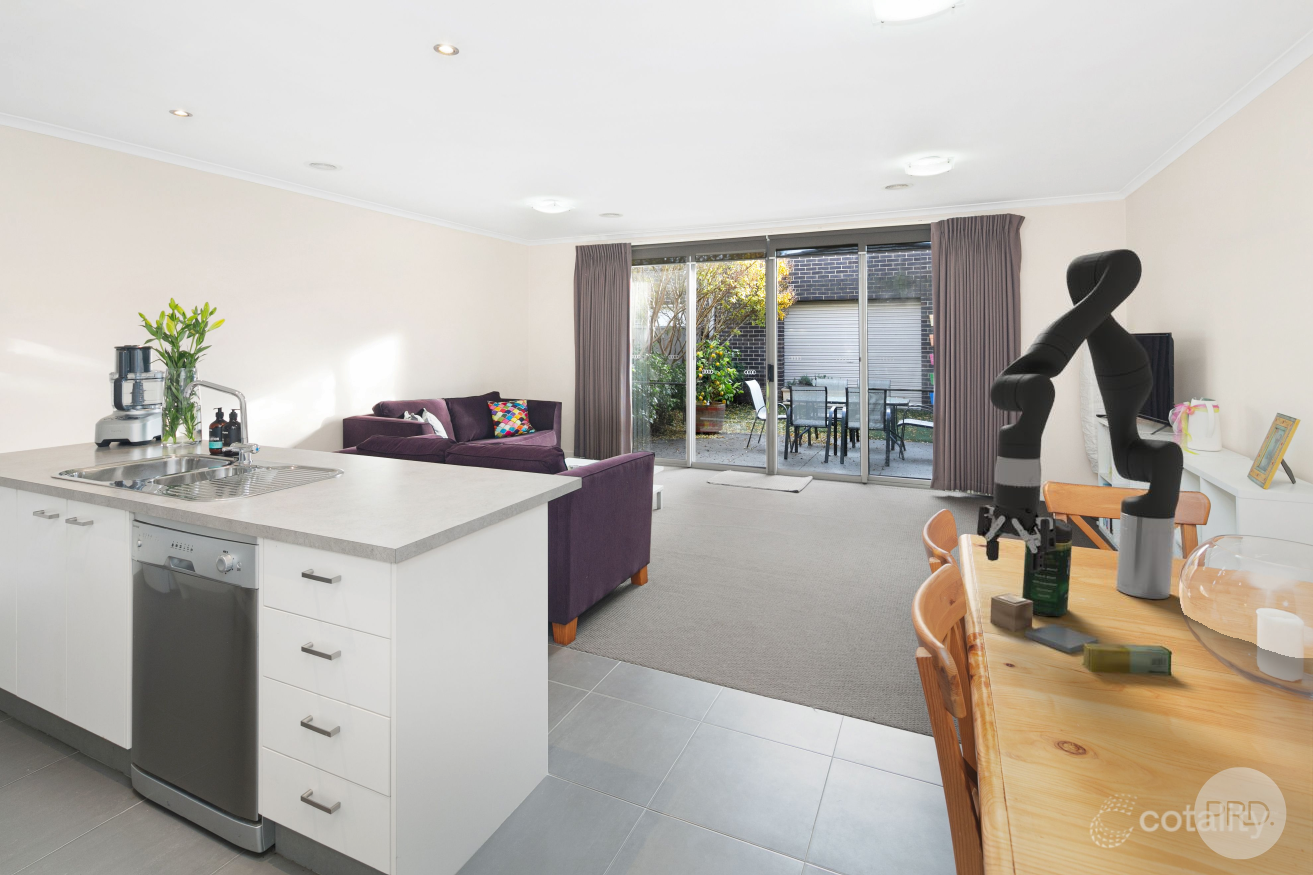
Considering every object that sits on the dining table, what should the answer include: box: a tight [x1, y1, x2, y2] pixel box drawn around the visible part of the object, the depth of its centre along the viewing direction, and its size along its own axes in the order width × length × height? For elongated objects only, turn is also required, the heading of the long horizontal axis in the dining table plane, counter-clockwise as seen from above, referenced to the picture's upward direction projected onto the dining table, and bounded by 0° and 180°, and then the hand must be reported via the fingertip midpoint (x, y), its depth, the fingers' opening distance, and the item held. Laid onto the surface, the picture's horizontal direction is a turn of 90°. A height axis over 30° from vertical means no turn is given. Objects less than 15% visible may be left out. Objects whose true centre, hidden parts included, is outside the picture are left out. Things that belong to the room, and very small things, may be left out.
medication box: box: [1082, 643, 1173, 676], centre depth 103 cm, size 12×3×4 cm, turn 82°
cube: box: [989, 593, 1034, 632], centre depth 122 cm, size 5×5×5 cm
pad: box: [1024, 623, 1099, 655], centre depth 115 cm, size 8×8×1 cm
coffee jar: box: [1021, 516, 1073, 617], centre depth 129 cm, size 10×8×19 cm
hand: (1013, 565), depth 121 cm, fingers open, 8 cm apart
